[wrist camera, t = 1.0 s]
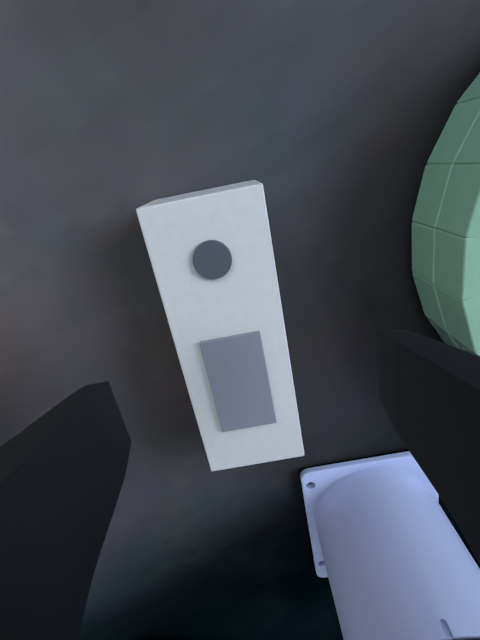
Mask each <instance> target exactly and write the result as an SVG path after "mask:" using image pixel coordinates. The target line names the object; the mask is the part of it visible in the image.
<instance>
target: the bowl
mask: <svg viewBox="0 0 480 640" xmlns="http://www.w3.org/2000/svg"><path fill="white" fill-rule="evenodd" d="M412 221H413V222H412V272H413V273H412V274H413V278H414V281H415V284H416V288H417V291H418V294H419V298H420V301H421V304H422V308H423V311H424V313H425V315H426V317H427V319H428V320H429V321H430V323H431V324H432V326H433V327H434V328H435V330H436V331H437V333H438V334H439V335H440V337H441V338H442V340H443V341H444V343H445V344H448V345H451V346H453V347H456V348H459V349H462V350H464V351H467V352H470V353H473V354H476V355H479V356H480V73H479V74H478V76H477V77H476V78H475V79H474V81H473V82H472V83H471V85H470V86H469V87H468V88H467V90H466V91H465V92H464V94H463V95H462V96H461V97H460V99H459V100H458V101H457V104H456V105H455V107H454V109H453V111H452V113H451V115H450V117H449V119H448V121H447V123H446V125H445V127H444V129H443V131H442V133H441V135H440V137H439V139H438V141H437V143H436V145H435V147H434V149H433V151H432V153H431V155H430V157H429V159H428V161H427V165H426V166H425V169H424V173H423V177H422V181H421V185H420V189H419V193H418V197H417V201H416V205H415V209H414V213H413V217H412Z"/></svg>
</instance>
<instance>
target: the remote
mask: <svg viewBox="0 0 480 640" xmlns="http://www.w3.org/2000/svg"><path fill="white" fill-rule="evenodd" d="M136 213H137V216H138V219H139V223H140V226H141V230H142V233H143V237H144V240H145V244H146V247H147V251H148V254H149V257H150V261H151V264H152V268H153V271H154V275H155V278H156V282H157V285H158V289H159V292H160V295H161V299H162V302H163V306H164V309H165V313H166V316H167V320H168V323H169V327H170V330H171V333H172V337H173V340H174V344H175V347H176V351H177V354H178V358H179V361H180V365H181V368H182V371H183V375H184V378H185V382H186V385H187V389H188V392H189V396H190V399H191V403H192V406H193V409H194V413H195V416H196V420H197V423H198V427H199V430H200V434H201V437H202V441H203V444H204V447H205V451H206V454H207V458H208V461H209V465H210V468H211V471H218V470H223V469H229V468H235V467H241V466H247V465H253V464H259V463H264V462H270V461H276V460H282V459H288V458H294V457H300V456H304V448H303V441H302V435H301V428H300V422H299V415H298V409H297V402H296V396H295V389H294V383H293V376H292V370H291V363H290V357H289V350H288V344H287V337H286V331H285V325H284V318H283V312H282V305H281V299H280V292H279V286H278V279H277V273H276V266H275V260H274V253H273V247H272V240H271V234H270V227H269V221H268V214H267V208H266V201H265V195H264V188H263V184H262V183H260V182H258V181H256V180H250V181H245V182H240V183H235V184H230V185H226V186H221V187H216V188H211V189H206V190H201V191H196V192H191V193H186V194H181V195H176V196H171V197H166V198H161V199H157V200H153V201H151V202H149V203H147V204H145V205H143V206H141V207H139V208H137V209H136Z"/></svg>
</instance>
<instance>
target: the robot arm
mask: <svg viewBox="0 0 480 640" xmlns="http://www.w3.org/2000/svg"><path fill="white" fill-rule="evenodd" d="M377 339H378V362H379V386H380V399H381V401H382V404H383V406H384V408H385V410H386V412H387V414H388V416H389V418H390V420H391V422H392V424H393V426H394V428H395V430H396V432H397V433H398V435H399V436H400V438H401V439H402V441H403V442H404V444H405V445H406V447H407V448H408V450H409V451H406V452H400V453H395V454H389V455H383V456H377V457H371V458H365V459H359V460H353V461H347V462H341V463H335V464H330V465H324V466H318V467H312V468H307V469H304V470H303V471H302V472H301V473H300V479H301V485H302V491H303V497H304V503H305V509H306V515H307V521H308V527H309V533H310V540H311V546H312V552H313V558H314V564H315V570H316V574H317V576H319V577H322V578H325V577H328V578H329V582H330V586H331V590H332V594H333V598H334V602H335V606H336V610H337V614H338V618H339V622H340V626H341V630H342V634H343V639H344V640H480V569H479V567H478V566H477V564H476V562H475V561H474V559H473V558H472V556H471V554H470V553H469V551H468V550H467V548H466V546H465V545H464V543H463V542H462V540H461V539H460V537H459V535H458V534H457V532H456V531H455V529H454V527H453V526H452V524H451V523H450V521H449V519H448V518H447V516H446V515H445V513H444V511H443V510H442V508H441V507H440V505H439V503H438V497H439V496H440V497H441V499H442V500H443V502H444V503H445V505H446V506H447V508H448V509H449V511H450V513H451V514H452V516H453V518H454V519H455V521H456V522H457V524H458V526H459V527H460V529H461V531H462V533H463V535H464V536H465V538H466V540H467V542H468V544H469V546H470V547H471V549H472V551H473V553H474V555H475V557H476V558H477V560H478V562H479V564H480V356H479V355H476V354H473V353H470V352H467V351H464V350H462V349H459V348H456V347H453V346H451V345H448V344H445V343H442V342H440V341H437V340H434V339H431V338H429V337H426V336H423V335H420V334H417V333H414V332H411V331H408V330H404V329H397V330H391V331H386V332H380V333H377ZM130 445H131V440H130V437H129V434H128V432H127V429H126V427H125V424H124V421H123V419H122V416H121V413H120V411H119V408H118V406H117V403H116V400H115V398H114V395H113V392H112V390H111V387H110V385H109V382H108V381H107V382H102V383H96V384H90V385H86V386H84V387H82V388H81V389H79V390H77V391H76V392H74V393H73V394H71V395H70V396H69V397H67V398H66V399H64V400H63V401H62V402H60V403H59V404H58V405H56V406H55V407H54V408H52V409H51V410H50V411H48V412H47V413H46V414H44V415H43V416H42V417H40V418H39V419H38V420H36V421H35V422H34V423H32V424H31V425H30V426H28V427H27V428H26V429H24V430H23V431H22V432H20V433H19V434H18V435H16V436H15V437H14V438H12V439H11V440H9V441H8V442H7V443H5V444H4V445H2V446H1V447H0V640H78V637H79V632H80V628H81V624H82V619H83V615H84V611H85V606H86V602H87V597H88V593H89V589H90V584H91V581H92V577H93V574H94V570H95V567H96V564H97V560H98V557H99V554H100V551H101V548H102V545H103V542H104V539H105V536H106V533H107V530H108V527H109V524H110V521H111V518H112V515H113V512H114V509H115V506H116V503H117V500H118V497H119V493H120V490H121V487H122V484H123V481H124V477H125V473H126V468H127V463H128V457H129V451H130ZM309 482H312V483H310V484H308V483H309Z"/></svg>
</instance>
